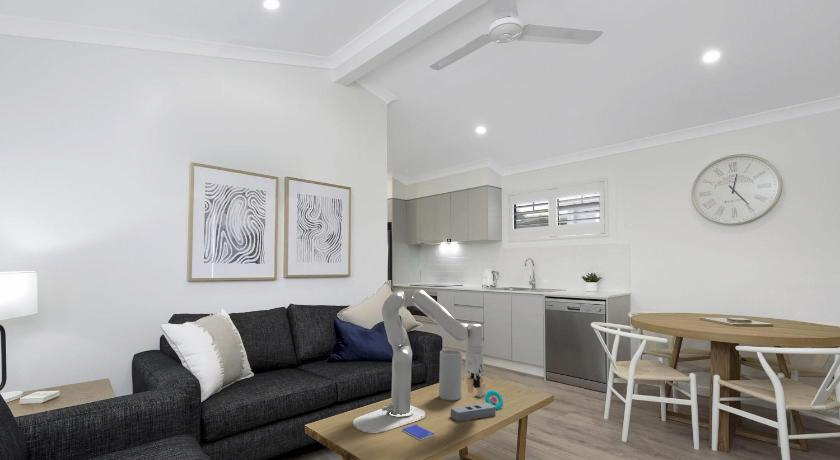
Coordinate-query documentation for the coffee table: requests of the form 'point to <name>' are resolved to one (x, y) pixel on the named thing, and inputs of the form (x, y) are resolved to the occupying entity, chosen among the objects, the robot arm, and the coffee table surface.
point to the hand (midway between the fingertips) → (474, 386)
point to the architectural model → (481, 393)
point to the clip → (471, 381)
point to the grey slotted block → (473, 411)
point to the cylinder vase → (450, 374)
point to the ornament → (494, 399)
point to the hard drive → (418, 432)
